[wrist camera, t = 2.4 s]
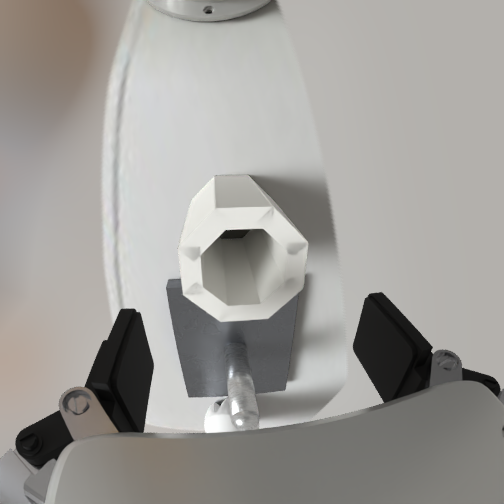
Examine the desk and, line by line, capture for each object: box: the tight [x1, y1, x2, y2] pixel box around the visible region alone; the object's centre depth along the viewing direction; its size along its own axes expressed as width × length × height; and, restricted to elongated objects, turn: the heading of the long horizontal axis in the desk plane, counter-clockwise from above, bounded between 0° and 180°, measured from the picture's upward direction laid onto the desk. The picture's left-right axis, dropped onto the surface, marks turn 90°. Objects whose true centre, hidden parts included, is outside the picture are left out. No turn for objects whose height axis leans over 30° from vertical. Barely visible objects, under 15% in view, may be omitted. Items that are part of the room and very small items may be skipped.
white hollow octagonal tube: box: [177, 175, 308, 322], centre depth 19 cm, size 7×7×10 cm
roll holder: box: [166, 279, 299, 431], centre depth 24 cm, size 16×12×11 cm
